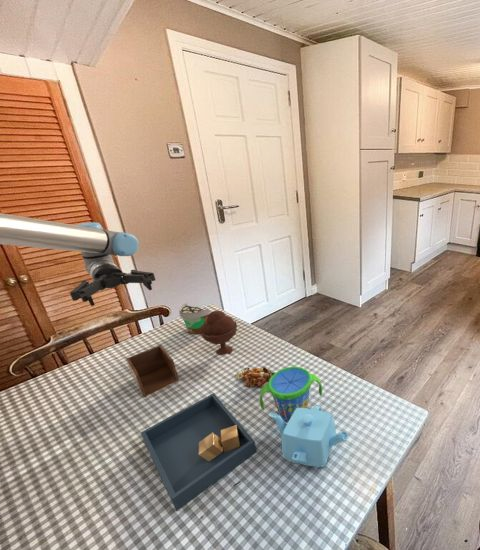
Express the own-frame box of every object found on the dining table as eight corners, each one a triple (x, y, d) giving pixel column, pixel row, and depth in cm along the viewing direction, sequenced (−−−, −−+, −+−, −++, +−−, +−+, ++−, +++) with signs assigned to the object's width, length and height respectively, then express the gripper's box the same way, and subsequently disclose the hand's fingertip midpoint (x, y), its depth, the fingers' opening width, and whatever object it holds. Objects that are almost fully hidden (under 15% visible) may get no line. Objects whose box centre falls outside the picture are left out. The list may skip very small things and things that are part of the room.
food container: (176, 333, 114) (170, 310, 110) (191, 325, 119) (185, 302, 116) (200, 340, 110) (194, 316, 106) (214, 331, 115) (209, 308, 111)
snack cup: (321, 391, 86) (319, 361, 82) (325, 420, 77) (323, 389, 73) (264, 400, 83) (259, 370, 79) (261, 432, 73) (255, 400, 70)
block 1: (213, 444, 65) (198, 454, 64) (223, 451, 67) (208, 462, 66) (212, 432, 68) (198, 442, 67) (222, 439, 69) (208, 449, 69)
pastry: (242, 368, 95) (240, 359, 94) (277, 373, 93) (276, 364, 92) (228, 384, 89) (226, 374, 88) (266, 390, 87) (264, 380, 85)
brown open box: (134, 380, 91) (125, 358, 88) (167, 365, 97) (161, 344, 94) (144, 398, 84) (135, 375, 81) (179, 381, 90) (173, 359, 87)
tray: (144, 443, 71) (140, 432, 70) (216, 403, 82) (213, 392, 81) (176, 511, 57) (171, 499, 56) (256, 452, 69) (254, 440, 67)
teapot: (355, 434, 73) (354, 402, 69) (337, 494, 60) (335, 459, 56) (286, 421, 76) (282, 390, 73) (256, 475, 64) (249, 441, 60)
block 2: (221, 441, 67) (220, 430, 70) (224, 452, 68) (223, 440, 71) (237, 435, 68) (236, 424, 71) (240, 446, 69) (238, 435, 72)
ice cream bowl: (199, 360, 99) (189, 320, 94) (220, 341, 109) (212, 304, 104) (229, 363, 98) (220, 323, 92) (247, 343, 108) (240, 306, 102)
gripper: (153, 274, 110) (173, 291, 97) (60, 297, 93) (68, 321, 80) (147, 255, 107) (167, 269, 94) (50, 274, 90) (57, 295, 77)
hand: (122, 293), depth 87 cm, fingers open, 13 cm apart
